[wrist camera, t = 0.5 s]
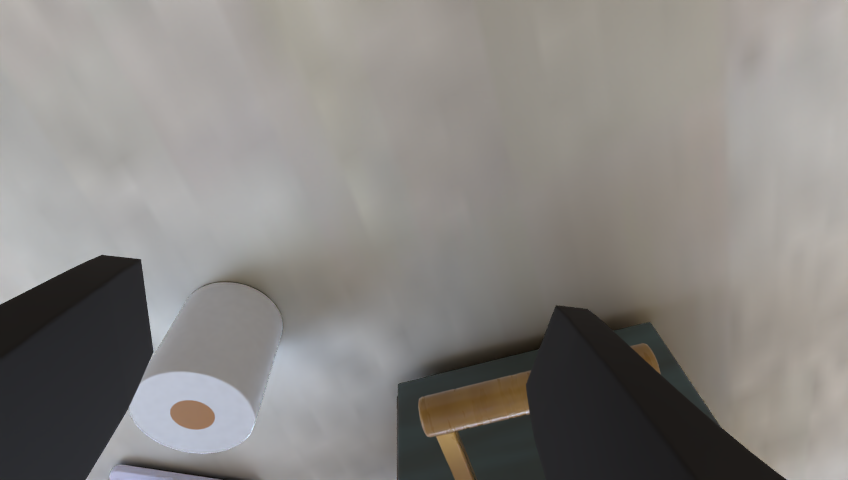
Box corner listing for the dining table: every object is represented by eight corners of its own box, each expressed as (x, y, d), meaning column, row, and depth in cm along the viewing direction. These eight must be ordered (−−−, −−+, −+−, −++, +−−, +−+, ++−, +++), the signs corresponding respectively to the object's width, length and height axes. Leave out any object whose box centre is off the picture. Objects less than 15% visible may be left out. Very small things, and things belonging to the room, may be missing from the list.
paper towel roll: (274, 365, 23) (245, 462, 19) (178, 346, 22) (125, 443, 18) (291, 294, 21) (264, 385, 17) (187, 270, 20) (130, 360, 16)
